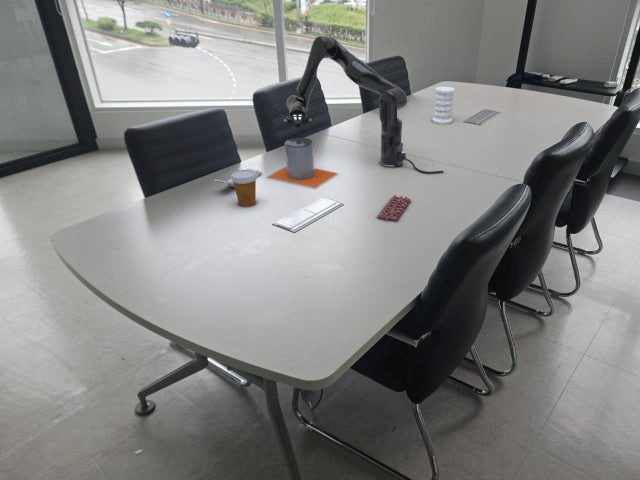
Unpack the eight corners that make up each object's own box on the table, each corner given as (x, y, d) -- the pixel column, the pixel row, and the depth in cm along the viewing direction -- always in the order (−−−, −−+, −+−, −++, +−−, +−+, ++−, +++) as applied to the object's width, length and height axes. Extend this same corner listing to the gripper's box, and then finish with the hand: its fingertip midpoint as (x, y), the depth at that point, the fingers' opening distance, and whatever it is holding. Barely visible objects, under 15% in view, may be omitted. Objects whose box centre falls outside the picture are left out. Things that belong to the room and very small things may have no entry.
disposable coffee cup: (264, 200, 200) (260, 171, 193) (251, 210, 192) (247, 180, 186) (243, 196, 202) (239, 168, 196) (229, 206, 195) (225, 176, 188)
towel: (337, 174, 224) (337, 173, 224) (314, 188, 210) (314, 187, 210) (292, 164, 233) (292, 163, 233) (268, 177, 219) (268, 176, 219)
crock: (320, 172, 224) (318, 140, 216) (304, 182, 215) (302, 148, 207) (297, 168, 229) (295, 135, 221) (281, 176, 220) (278, 143, 212)
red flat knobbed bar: (377, 219, 187) (377, 214, 186) (392, 199, 202) (392, 194, 201) (395, 222, 185) (396, 217, 184) (410, 201, 200) (410, 197, 199)
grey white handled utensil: (213, 179, 202) (250, 159, 221) (215, 193, 205) (251, 172, 224) (225, 182, 200) (262, 161, 219) (227, 196, 203) (263, 174, 222)
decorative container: (453, 124, 289) (456, 91, 279) (433, 123, 289) (435, 91, 279) (450, 118, 299) (454, 86, 289) (431, 118, 299) (433, 86, 289)
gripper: (282, 106, 232) (281, 117, 218) (311, 105, 234) (312, 116, 220) (283, 122, 237) (283, 134, 222) (312, 122, 238) (313, 133, 224)
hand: (297, 125), depth 221 cm, fingers closed
